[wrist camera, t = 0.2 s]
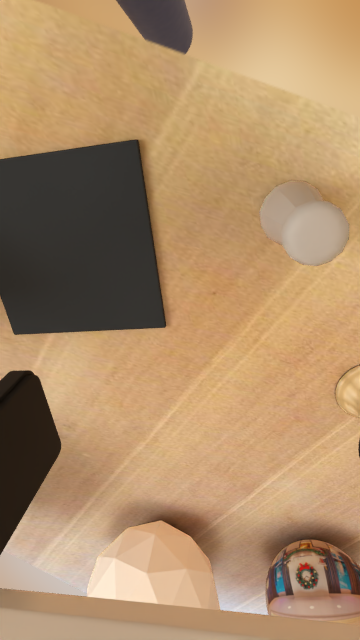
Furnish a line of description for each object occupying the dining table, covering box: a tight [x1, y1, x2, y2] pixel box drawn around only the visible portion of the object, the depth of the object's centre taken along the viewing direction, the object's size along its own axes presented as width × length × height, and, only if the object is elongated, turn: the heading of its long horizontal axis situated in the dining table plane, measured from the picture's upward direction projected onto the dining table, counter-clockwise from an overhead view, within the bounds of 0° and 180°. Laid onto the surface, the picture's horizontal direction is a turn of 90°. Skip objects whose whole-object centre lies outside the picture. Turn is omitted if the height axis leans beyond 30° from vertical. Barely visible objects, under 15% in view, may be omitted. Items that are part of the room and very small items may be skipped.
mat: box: [0, 140, 166, 335], centre depth 38 cm, size 20×20×1 cm
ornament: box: [266, 540, 360, 625], centre depth 48 cm, size 15×15×15 cm
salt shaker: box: [260, 181, 349, 266], centre depth 28 cm, size 6×6×13 cm
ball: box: [87, 520, 220, 610], centre depth 50 cm, size 19×20×20 cm
